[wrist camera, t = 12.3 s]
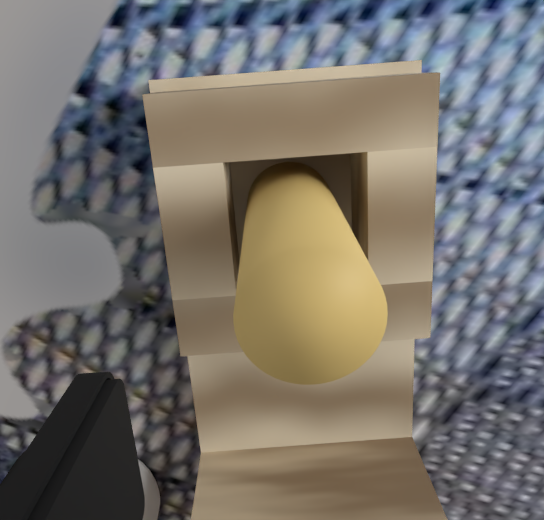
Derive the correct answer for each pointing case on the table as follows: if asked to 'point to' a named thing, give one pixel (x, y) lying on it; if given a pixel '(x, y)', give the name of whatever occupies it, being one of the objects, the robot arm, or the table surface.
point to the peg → (304, 282)
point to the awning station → (225, 267)
